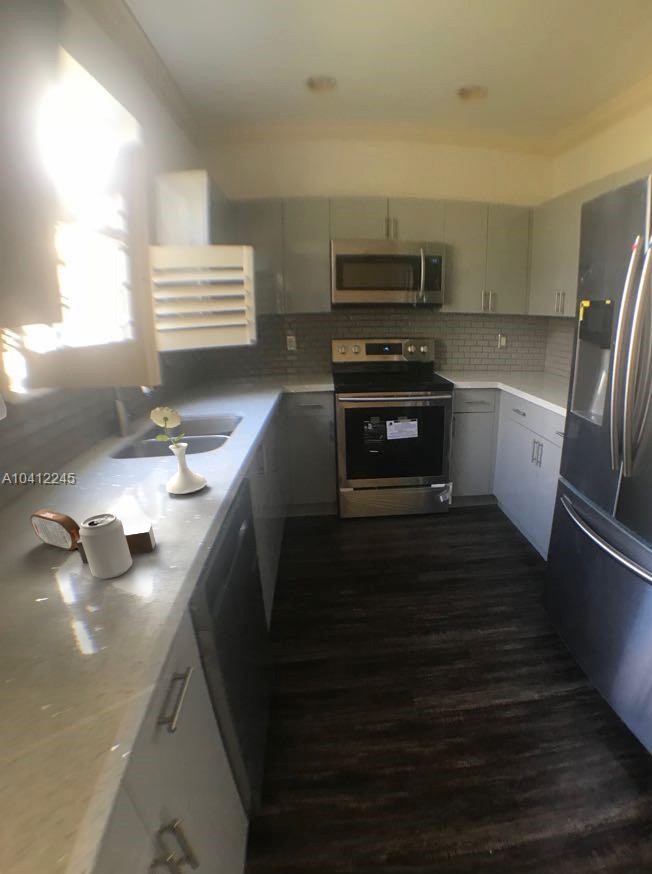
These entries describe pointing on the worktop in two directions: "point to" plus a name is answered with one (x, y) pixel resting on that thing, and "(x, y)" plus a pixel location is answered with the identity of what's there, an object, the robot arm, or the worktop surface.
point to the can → (105, 545)
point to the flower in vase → (177, 454)
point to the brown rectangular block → (131, 540)
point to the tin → (56, 529)
